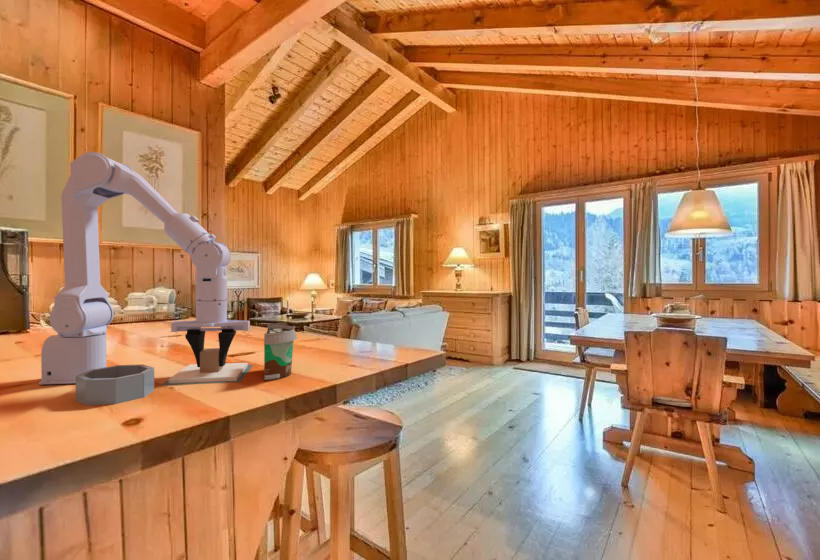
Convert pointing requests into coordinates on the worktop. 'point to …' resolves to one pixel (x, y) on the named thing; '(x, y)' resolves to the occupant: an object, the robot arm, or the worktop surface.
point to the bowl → (114, 384)
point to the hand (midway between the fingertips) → (211, 365)
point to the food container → (278, 352)
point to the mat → (214, 382)
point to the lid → (209, 369)
